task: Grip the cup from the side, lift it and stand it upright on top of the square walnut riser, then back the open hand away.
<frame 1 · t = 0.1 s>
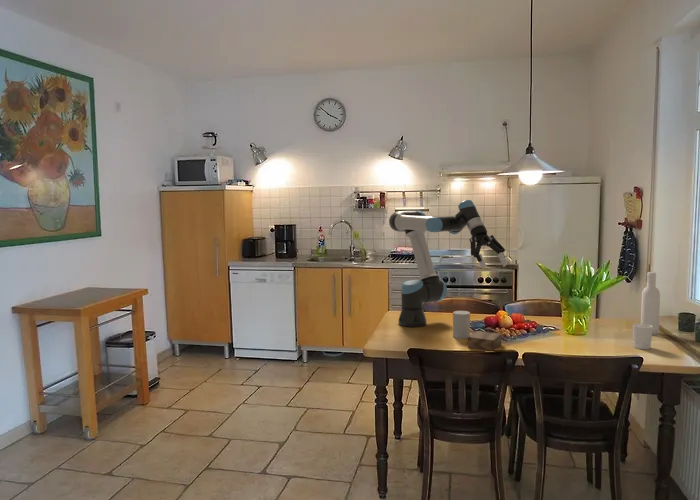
hand: (495, 266, 245), 36 cm above the table, tool tilted 35°, fingers open, 13 cm apart
cup: (461, 336, 257), on the table
walnut riser: (484, 346, 240), on the table
bottle: (649, 333, 256), on the table
white cup: (641, 347, 233), on the table
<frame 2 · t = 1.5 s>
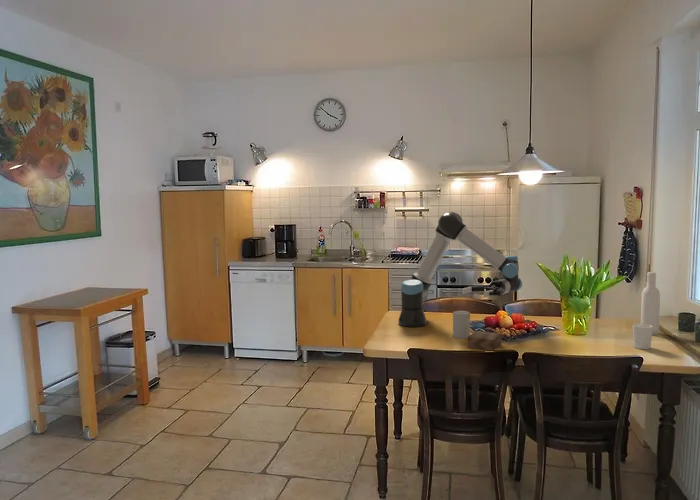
hand: (473, 293, 260), 21 cm above the table, tool horizontal, fingers open, 13 cm apart
nothing on the table moved.
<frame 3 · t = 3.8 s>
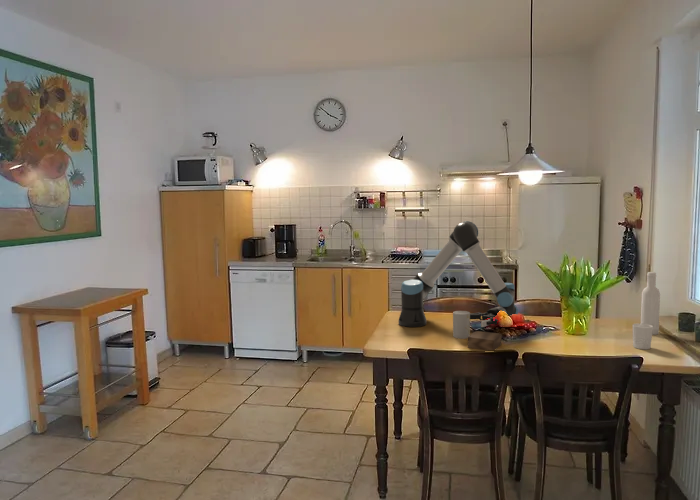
hand: (470, 321, 260), 6 cm above the table, tool horizontal, fingers open, 13 cm apart
nothing on the table moved.
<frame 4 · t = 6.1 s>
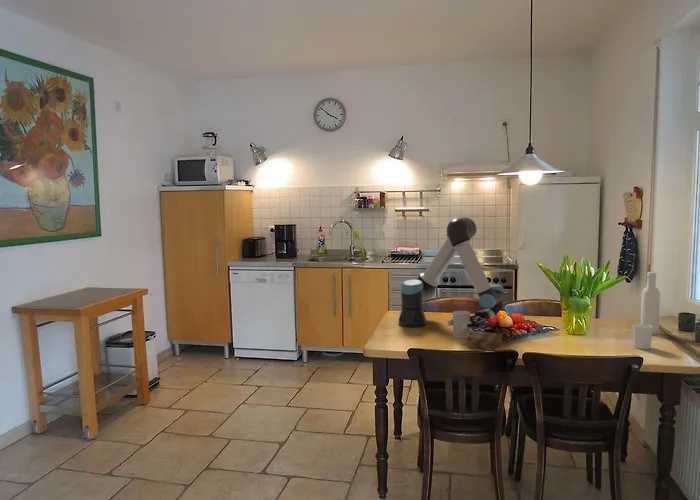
hand: (455, 325, 253), 7 cm above the table, tool horizontal, fingers closed on cup, 8 cm apart
cup: (461, 336, 257), on the table, touching gripper
everything else where it was.
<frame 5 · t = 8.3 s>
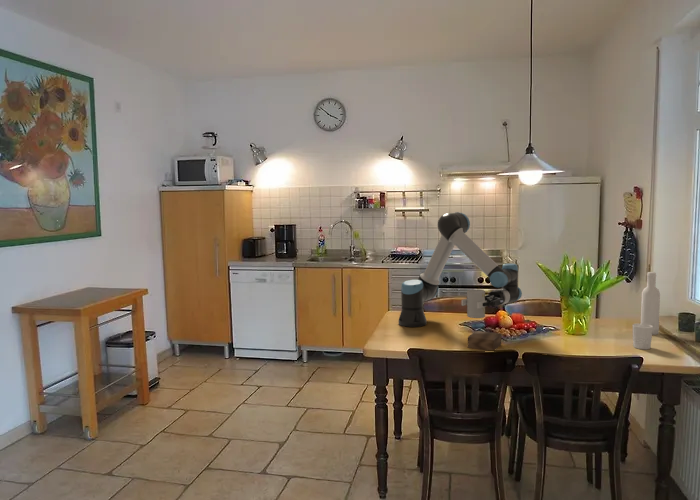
hand: (469, 304, 243), 19 cm above the table, tool horizontal, fingers closed on cup, 8 cm apart
cup: (476, 316, 247), point 12 cm above the table, touching gripper
everything else where it was.
when the fingers open (13 cm above the table, at t = 10.4 s): cup drops 1 cm, resting on walnut riser.
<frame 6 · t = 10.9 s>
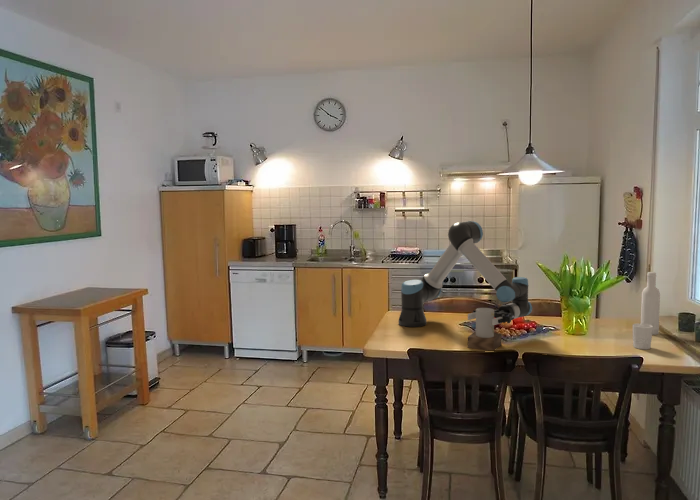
hand: (480, 319, 236), 13 cm above the table, tool horizontal, fingers open, 13 cm apart
cup: (484, 335, 239), point 5 cm above the table, touching walnut riser
everything else where it was.
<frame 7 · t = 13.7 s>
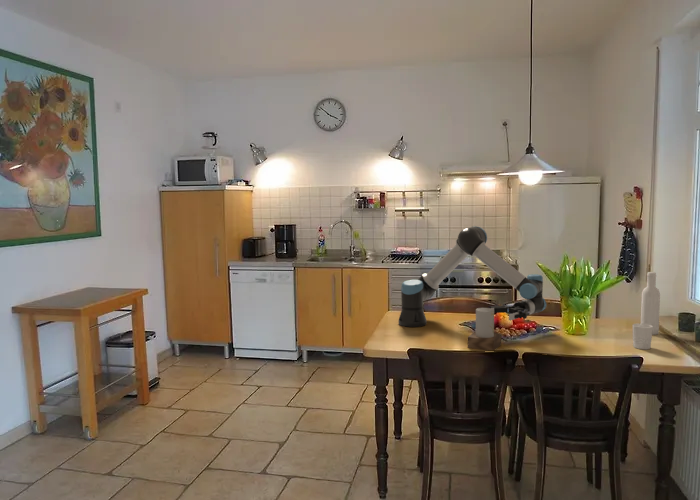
hand: (497, 315, 244), 13 cm above the table, tool horizontal, fingers open, 13 cm apart
nothing on the table moved.
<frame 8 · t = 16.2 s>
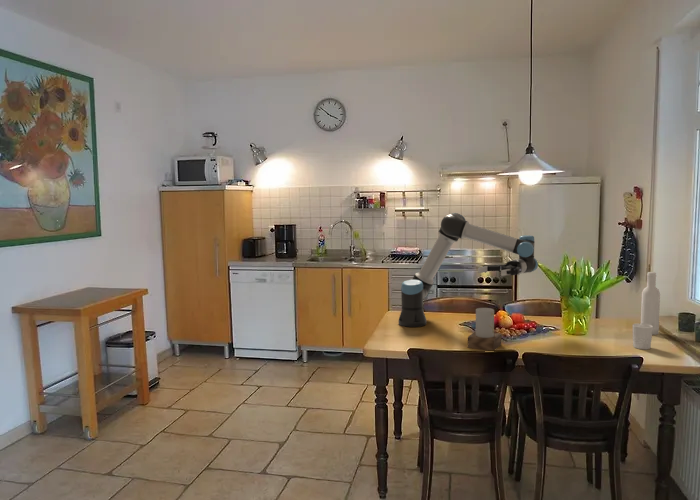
hand: (489, 271, 253), 32 cm above the table, tool horizontal, fingers open, 13 cm apart
nothing on the table moved.
at the end: cup inside the target area on the walnut riser (0.1 cm from its centre), point 4.8 cm above the walnut riser's base; cup tilted 0°; the gripper is holding nothing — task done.
